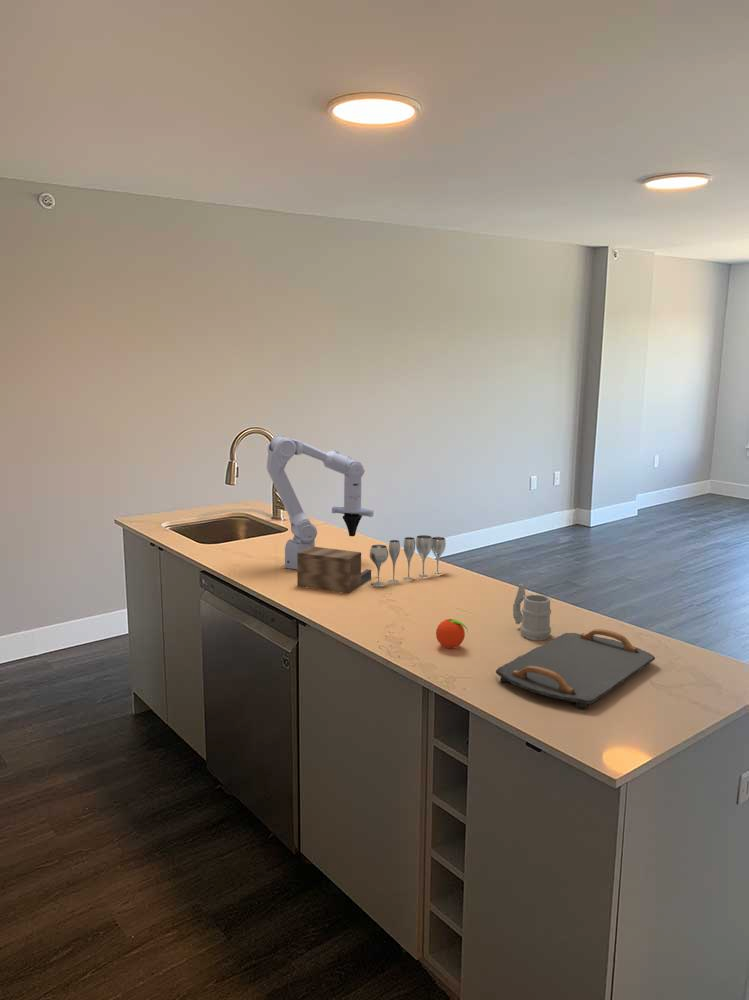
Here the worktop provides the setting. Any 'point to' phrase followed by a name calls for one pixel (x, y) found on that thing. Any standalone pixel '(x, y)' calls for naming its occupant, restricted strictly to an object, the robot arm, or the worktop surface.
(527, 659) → the serving board
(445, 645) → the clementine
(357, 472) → the robot arm
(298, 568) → the walnut shelf
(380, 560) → the goblet set
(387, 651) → the worktop surface
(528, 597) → the mug
